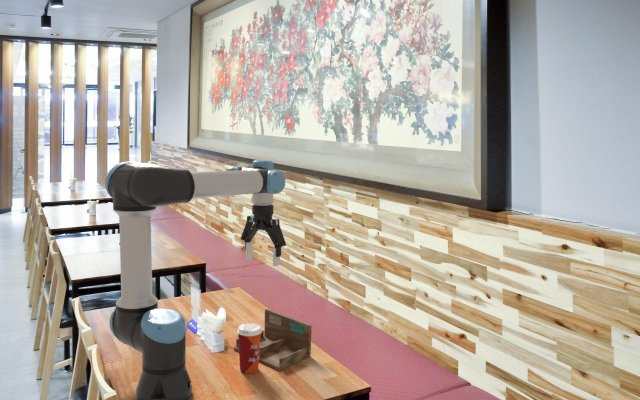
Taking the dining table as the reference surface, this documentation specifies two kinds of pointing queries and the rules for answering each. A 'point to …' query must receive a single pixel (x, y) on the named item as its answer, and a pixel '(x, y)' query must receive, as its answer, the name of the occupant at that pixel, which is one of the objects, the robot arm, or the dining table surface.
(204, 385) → the dining table surface
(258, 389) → the dining table surface
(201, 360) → the dining table surface
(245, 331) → the paper cup
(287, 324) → the rack
